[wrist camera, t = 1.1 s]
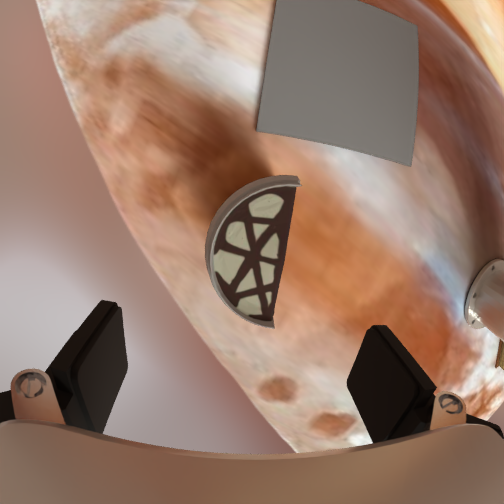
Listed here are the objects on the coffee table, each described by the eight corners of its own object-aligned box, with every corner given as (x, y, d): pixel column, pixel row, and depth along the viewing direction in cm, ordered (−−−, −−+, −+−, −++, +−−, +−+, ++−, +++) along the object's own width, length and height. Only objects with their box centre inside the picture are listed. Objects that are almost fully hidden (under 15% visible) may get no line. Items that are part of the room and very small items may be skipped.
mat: (415, 27, 23) (417, 25, 22) (408, 166, 28) (411, 166, 28) (279, -17, 21) (280, -20, 20) (256, 131, 27) (256, 130, 26)
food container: (220, 164, 28) (212, 164, 18) (280, 172, 28) (303, 177, 19) (207, 277, 31) (196, 326, 22) (262, 284, 32) (273, 334, 22)
